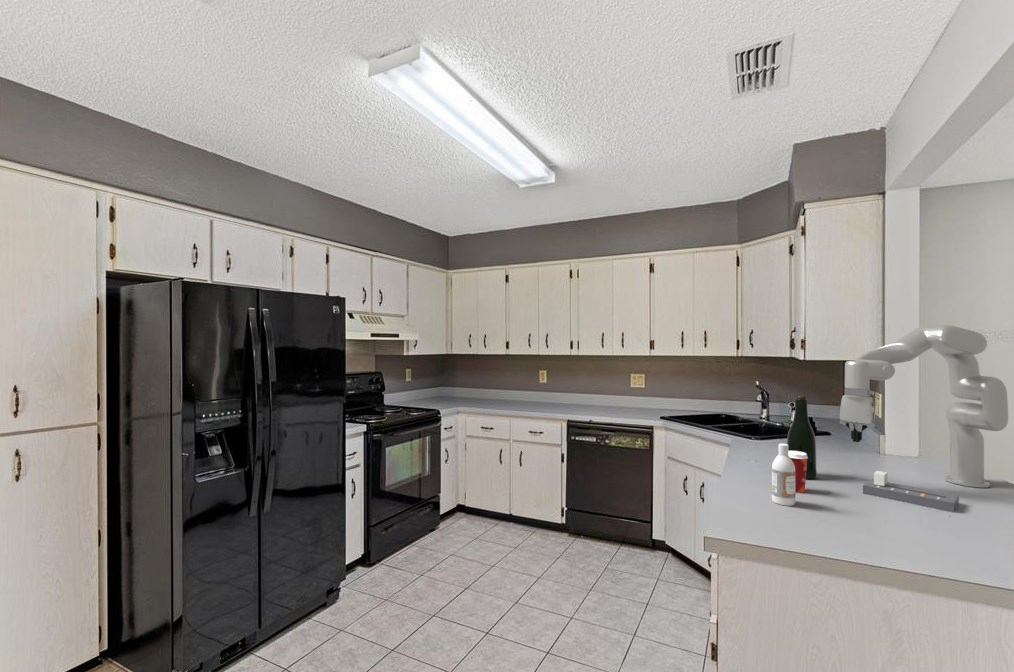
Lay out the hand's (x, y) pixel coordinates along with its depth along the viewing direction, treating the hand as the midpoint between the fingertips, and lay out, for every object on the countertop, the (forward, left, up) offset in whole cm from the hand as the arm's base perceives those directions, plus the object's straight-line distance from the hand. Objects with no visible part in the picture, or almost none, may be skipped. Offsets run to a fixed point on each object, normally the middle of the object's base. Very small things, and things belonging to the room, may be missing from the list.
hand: (856, 441), depth 175 cm
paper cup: (+21, -14, -18) cm, 31 cm away
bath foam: (+39, -12, -18) cm, 44 cm away
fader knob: (0, +7, -14) cm, 16 cm away
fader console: (0, +15, -18) cm, 23 cm away
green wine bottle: (-1, -19, -18) cm, 26 cm away
